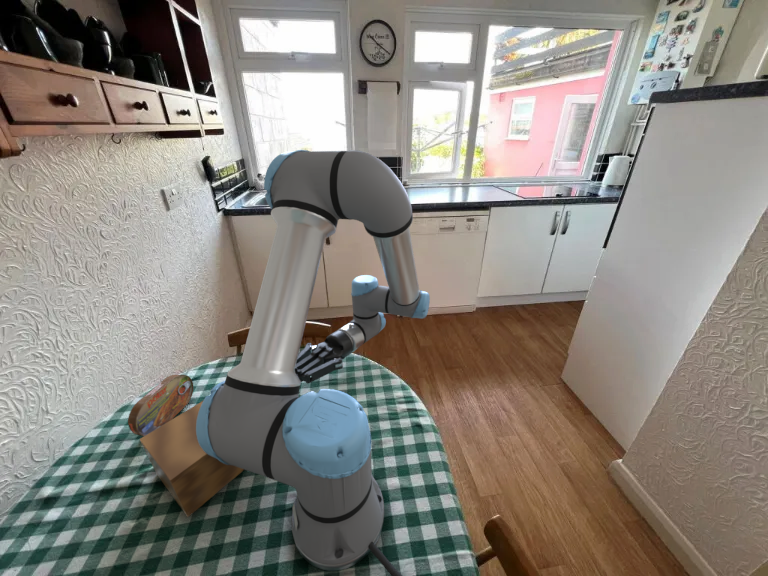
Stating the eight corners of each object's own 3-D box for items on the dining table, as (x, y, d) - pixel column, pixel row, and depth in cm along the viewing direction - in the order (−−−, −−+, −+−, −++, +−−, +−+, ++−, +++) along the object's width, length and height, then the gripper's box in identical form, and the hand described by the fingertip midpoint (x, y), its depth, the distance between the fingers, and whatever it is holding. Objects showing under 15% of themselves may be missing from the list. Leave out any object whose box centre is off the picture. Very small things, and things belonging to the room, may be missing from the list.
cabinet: (230, 423, 70) (220, 390, 66) (264, 453, 64) (254, 418, 59) (157, 474, 60) (139, 439, 56) (187, 517, 53) (170, 480, 49)
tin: (146, 445, 66) (131, 416, 62) (133, 443, 66) (118, 414, 63) (198, 394, 79) (188, 367, 75) (187, 392, 79) (177, 366, 76)
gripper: (326, 323, 89) (251, 367, 72) (361, 338, 82) (287, 391, 64) (328, 344, 92) (257, 392, 75) (362, 361, 85) (292, 417, 68)
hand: (271, 391), depth 70 cm, fingers closed
